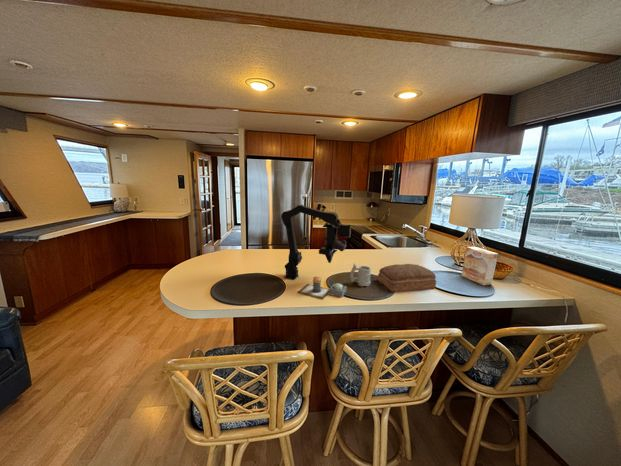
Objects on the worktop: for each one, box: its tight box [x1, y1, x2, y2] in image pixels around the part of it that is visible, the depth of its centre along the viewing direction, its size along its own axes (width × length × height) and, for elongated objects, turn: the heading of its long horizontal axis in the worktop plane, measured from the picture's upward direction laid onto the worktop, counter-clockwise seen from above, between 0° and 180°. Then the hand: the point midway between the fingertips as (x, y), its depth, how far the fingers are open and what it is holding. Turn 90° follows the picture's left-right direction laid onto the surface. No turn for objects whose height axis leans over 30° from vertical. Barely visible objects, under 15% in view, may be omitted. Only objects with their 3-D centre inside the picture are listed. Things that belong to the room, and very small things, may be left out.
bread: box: [377, 263, 437, 292], centre depth 139 cm, size 17×29×11 cm, turn 104°
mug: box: [349, 263, 372, 287], centre depth 137 cm, size 8×12×12 cm, turn 87°
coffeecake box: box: [460, 246, 499, 286], centre depth 148 cm, size 15×7×20 cm, turn 18°
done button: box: [333, 282, 344, 290], centre depth 125 cm, size 4×4×4 cm
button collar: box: [328, 283, 348, 298], centre depth 126 cm, size 7×7×3 cm
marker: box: [312, 276, 322, 292], centre depth 125 cm, size 4×4×7 cm
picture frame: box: [297, 283, 329, 300], centre depth 126 cm, size 14×11×1 cm
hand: (329, 262), depth 135 cm, fingers closed
